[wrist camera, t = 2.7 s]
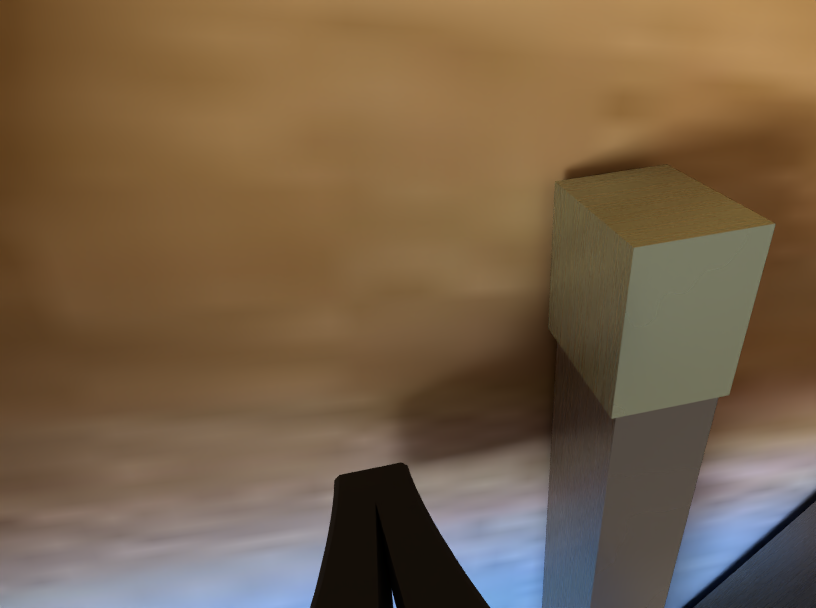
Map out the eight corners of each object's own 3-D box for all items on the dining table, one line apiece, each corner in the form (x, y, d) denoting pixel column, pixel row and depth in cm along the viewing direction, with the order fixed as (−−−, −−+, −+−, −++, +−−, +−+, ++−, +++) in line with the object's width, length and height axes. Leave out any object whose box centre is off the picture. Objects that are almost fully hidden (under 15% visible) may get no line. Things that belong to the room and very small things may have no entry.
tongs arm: (666, 164, 10) (775, 224, 8) (591, 655, 18) (632, 750, 16) (554, 181, 10) (633, 248, 7) (532, 670, 18) (565, 768, 16)
